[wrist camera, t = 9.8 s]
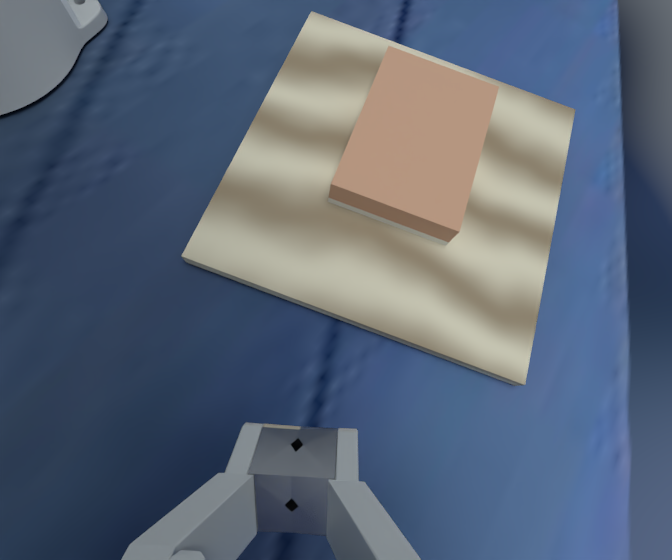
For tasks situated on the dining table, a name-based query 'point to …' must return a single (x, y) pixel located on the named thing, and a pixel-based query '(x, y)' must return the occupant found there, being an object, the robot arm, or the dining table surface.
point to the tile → (415, 147)
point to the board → (380, 238)
